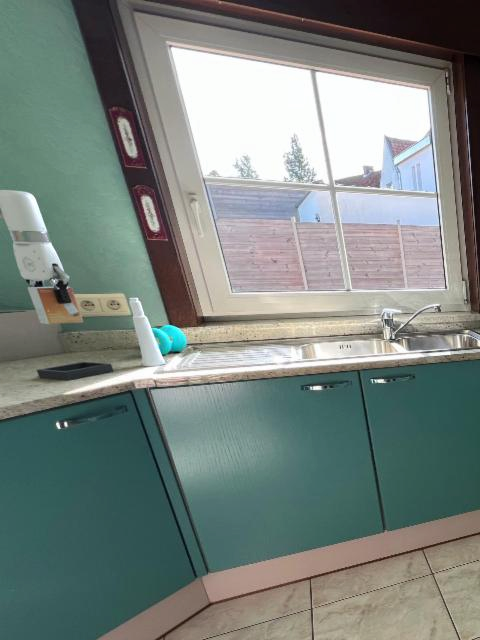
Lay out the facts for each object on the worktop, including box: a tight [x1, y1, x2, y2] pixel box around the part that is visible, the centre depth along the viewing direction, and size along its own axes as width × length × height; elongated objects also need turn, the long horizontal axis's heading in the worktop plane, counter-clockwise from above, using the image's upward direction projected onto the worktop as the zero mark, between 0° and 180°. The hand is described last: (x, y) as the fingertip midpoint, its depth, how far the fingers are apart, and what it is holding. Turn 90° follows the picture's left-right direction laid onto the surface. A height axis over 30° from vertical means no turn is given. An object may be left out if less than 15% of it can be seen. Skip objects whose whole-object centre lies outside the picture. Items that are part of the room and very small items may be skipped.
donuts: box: [151, 324, 188, 356], centre depth 184 cm, size 10×10×10 cm
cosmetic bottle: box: [128, 297, 167, 367], centre depth 164 cm, size 6×6×22 cm
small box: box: [27, 286, 84, 325], centre depth 148 cm, size 8×6×10 cm
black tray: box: [36, 361, 114, 381], centre depth 153 cm, size 11×13×3 cm
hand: (54, 302), depth 148 cm, fingers closed on small box, 6 cm apart
